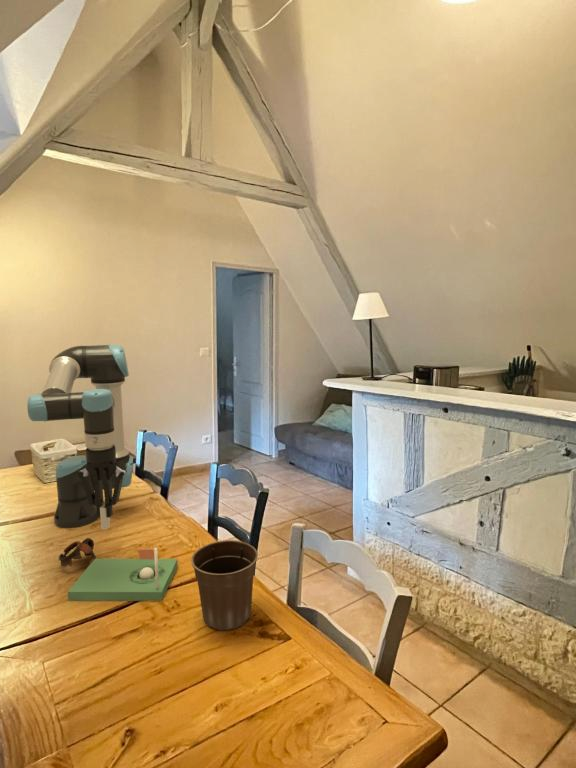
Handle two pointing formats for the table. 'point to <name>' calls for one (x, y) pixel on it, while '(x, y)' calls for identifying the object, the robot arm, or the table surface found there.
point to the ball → (146, 573)
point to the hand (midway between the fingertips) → (105, 527)
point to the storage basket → (50, 457)
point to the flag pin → (151, 555)
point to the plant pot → (225, 582)
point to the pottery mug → (77, 552)
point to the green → (122, 580)
